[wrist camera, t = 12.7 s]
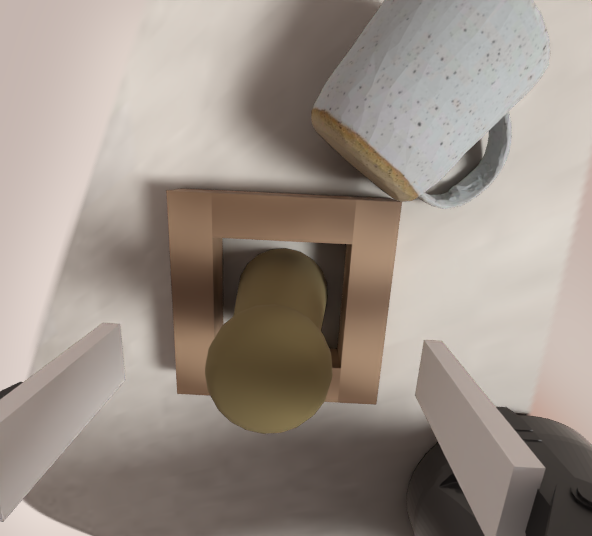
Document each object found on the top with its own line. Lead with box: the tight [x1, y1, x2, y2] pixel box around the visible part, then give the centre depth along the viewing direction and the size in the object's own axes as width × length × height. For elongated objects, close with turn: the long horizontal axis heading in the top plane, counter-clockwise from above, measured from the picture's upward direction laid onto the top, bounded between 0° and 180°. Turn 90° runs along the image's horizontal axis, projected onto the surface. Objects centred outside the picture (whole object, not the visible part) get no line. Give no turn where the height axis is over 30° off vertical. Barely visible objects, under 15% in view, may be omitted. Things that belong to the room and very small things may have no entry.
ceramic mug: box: [311, 0, 550, 209], centre depth 17 cm, size 11×8×8 cm
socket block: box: [166, 188, 402, 404], centre depth 22 cm, size 13×13×2 cm
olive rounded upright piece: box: [205, 248, 333, 434], centre depth 18 cm, size 6×6×11 cm
